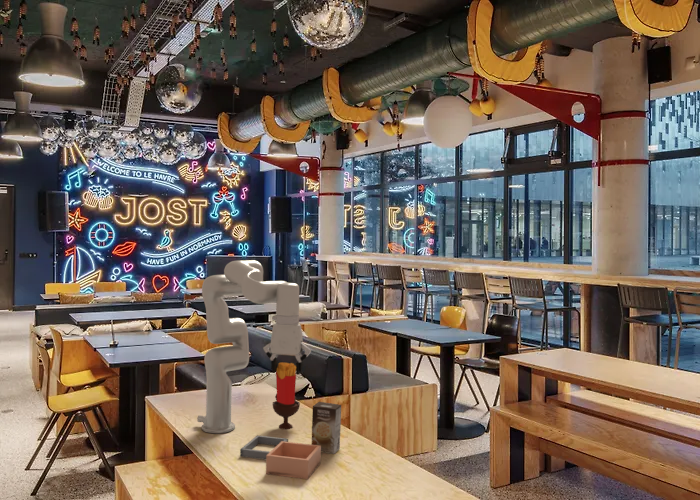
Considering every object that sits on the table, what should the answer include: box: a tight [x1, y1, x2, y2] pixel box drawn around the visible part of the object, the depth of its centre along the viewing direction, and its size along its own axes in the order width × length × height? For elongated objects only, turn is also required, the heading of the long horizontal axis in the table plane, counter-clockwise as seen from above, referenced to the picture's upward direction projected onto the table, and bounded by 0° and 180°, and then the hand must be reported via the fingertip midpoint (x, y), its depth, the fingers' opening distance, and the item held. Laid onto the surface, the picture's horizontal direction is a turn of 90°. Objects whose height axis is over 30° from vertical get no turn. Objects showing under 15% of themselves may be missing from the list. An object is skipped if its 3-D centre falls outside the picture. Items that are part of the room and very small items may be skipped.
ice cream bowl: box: [272, 393, 301, 430], centre depth 247 cm, size 11×11×15 cm
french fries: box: [275, 361, 297, 405], centre depth 209 cm, size 9×4×13 cm, turn 41°
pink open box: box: [265, 441, 322, 480], centre depth 206 cm, size 14×14×6 cm
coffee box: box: [311, 401, 342, 455], centre depth 224 cm, size 9×6×16 cm
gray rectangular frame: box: [239, 434, 289, 460], centre depth 221 cm, size 12×15×2 cm
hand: (286, 372), depth 209 cm, fingers closed on french fries, 7 cm apart
